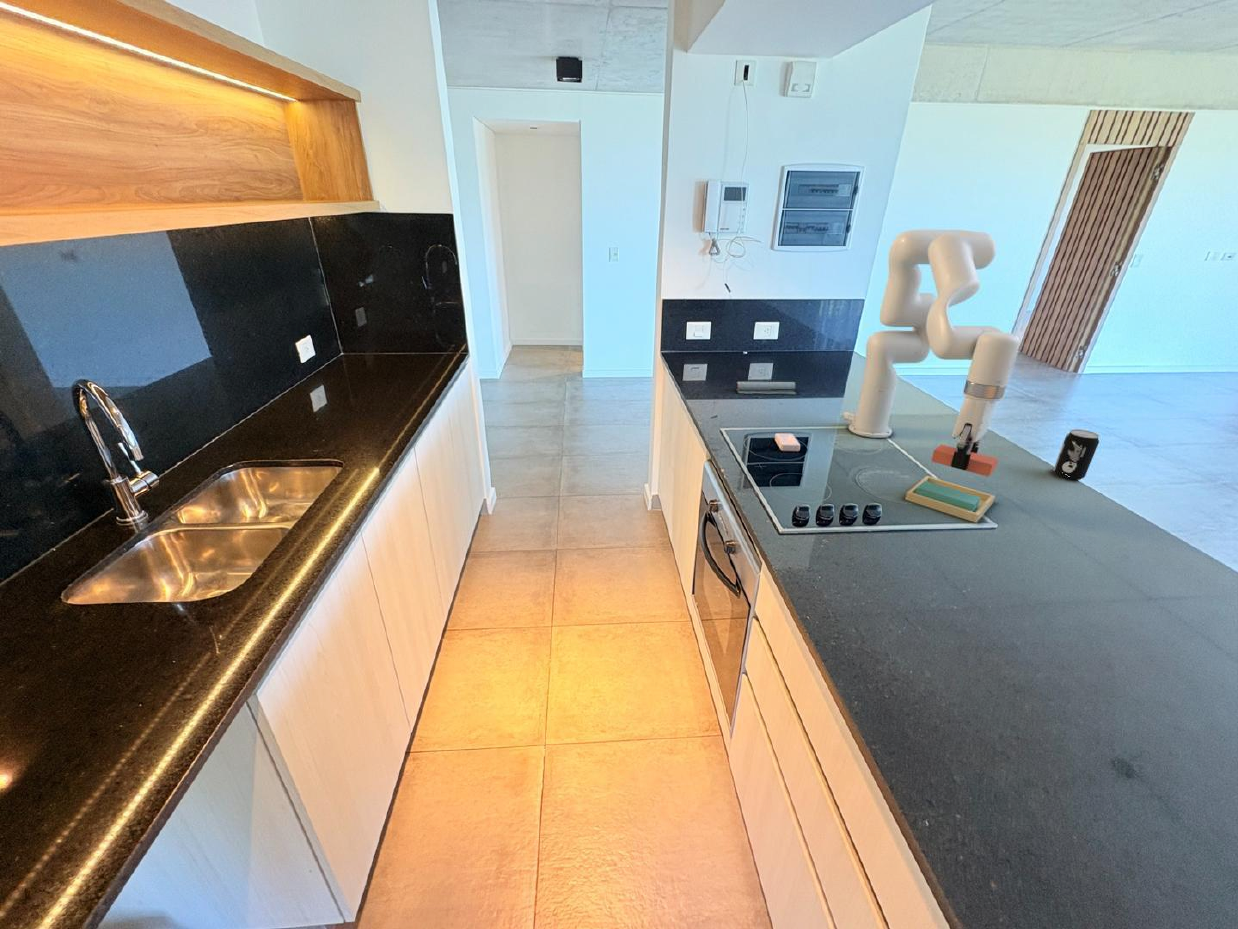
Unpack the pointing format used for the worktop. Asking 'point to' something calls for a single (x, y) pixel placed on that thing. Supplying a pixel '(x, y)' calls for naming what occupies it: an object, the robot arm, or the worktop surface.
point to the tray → (947, 508)
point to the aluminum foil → (765, 387)
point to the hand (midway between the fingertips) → (962, 464)
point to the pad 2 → (949, 496)
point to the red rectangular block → (976, 462)
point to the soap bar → (787, 442)
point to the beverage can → (1076, 454)
